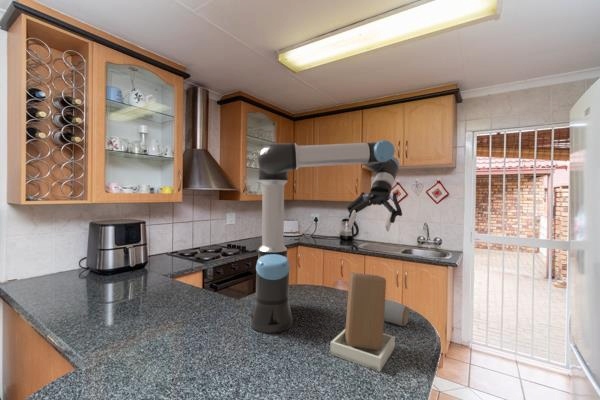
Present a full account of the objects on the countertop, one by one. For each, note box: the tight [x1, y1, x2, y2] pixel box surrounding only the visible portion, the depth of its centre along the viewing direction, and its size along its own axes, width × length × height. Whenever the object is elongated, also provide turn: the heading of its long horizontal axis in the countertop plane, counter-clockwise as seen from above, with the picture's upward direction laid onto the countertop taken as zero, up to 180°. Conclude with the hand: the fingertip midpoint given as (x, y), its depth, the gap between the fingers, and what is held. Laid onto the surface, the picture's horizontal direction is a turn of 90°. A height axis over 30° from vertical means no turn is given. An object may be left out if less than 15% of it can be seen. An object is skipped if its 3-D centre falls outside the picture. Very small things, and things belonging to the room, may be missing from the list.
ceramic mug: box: [384, 299, 410, 327], centre depth 107 cm, size 11×8×8 cm
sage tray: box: [329, 328, 396, 372], centre depth 86 cm, size 15×15×4 cm
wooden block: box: [344, 272, 387, 350], centre depth 87 cm, size 10×10×20 cm
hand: (367, 227), depth 101 cm, fingers open, 13 cm apart
